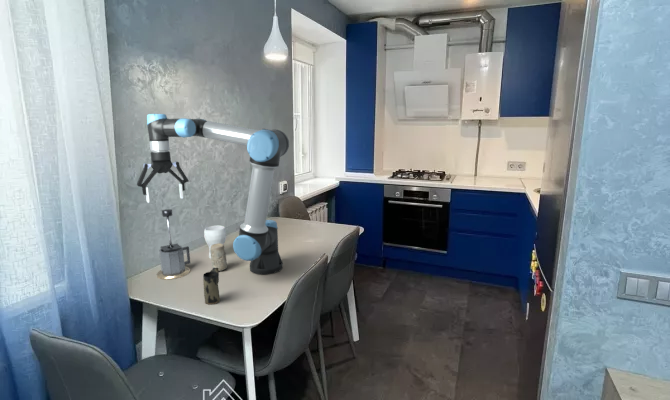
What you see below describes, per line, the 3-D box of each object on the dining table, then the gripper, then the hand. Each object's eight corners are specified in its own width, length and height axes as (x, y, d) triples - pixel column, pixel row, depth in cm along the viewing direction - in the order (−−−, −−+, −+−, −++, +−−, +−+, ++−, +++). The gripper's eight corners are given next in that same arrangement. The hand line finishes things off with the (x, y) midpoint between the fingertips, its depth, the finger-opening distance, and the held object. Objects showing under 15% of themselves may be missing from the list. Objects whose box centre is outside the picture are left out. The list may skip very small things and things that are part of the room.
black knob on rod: (180, 252, 163) (176, 210, 159) (165, 255, 160) (160, 212, 156) (177, 248, 168) (172, 207, 164) (162, 251, 165) (157, 209, 161)
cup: (221, 260, 180) (219, 231, 177) (201, 259, 182) (199, 230, 179) (231, 253, 191) (229, 225, 187) (212, 252, 193) (210, 224, 190)
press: (195, 273, 165) (192, 247, 162) (160, 282, 156) (157, 254, 154) (186, 264, 176) (184, 240, 173) (153, 271, 168) (150, 246, 165)
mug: (215, 305, 136) (212, 275, 134) (201, 304, 137) (199, 274, 135) (225, 295, 144) (223, 267, 141) (212, 294, 145) (210, 266, 142)
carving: (218, 265, 174) (216, 241, 171) (230, 268, 170) (228, 244, 168) (208, 270, 168) (206, 245, 166) (220, 273, 165) (218, 248, 163)
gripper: (188, 149, 165) (192, 195, 169) (125, 152, 150) (131, 202, 155) (193, 150, 159) (197, 197, 163) (128, 153, 144) (134, 205, 149)
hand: (165, 200), depth 159 cm, fingers open, 13 cm apart
